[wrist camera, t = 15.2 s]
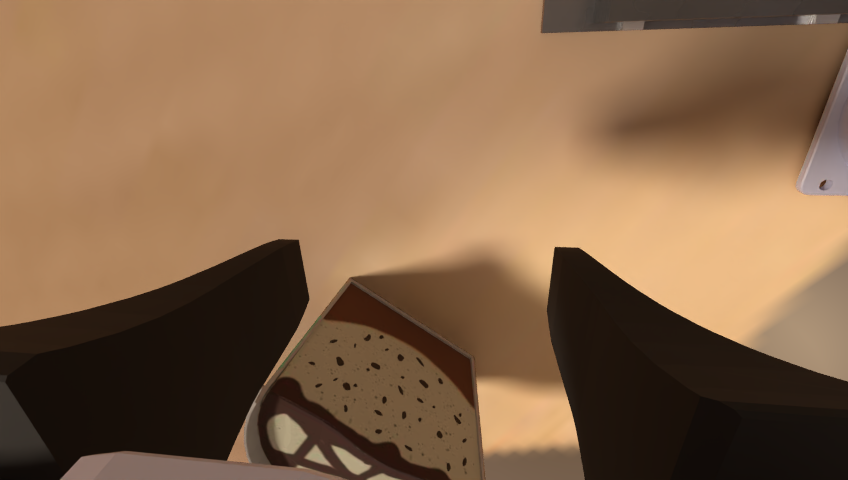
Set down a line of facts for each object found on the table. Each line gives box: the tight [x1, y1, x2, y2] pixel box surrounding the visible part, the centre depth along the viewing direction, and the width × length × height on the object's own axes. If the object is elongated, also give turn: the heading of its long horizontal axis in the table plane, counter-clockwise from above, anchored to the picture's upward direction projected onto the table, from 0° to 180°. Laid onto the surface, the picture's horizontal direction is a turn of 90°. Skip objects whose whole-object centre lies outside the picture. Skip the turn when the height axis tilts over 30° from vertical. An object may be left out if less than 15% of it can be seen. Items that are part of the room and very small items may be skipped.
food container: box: [244, 278, 485, 480], centre depth 22 cm, size 12×6×10 cm, turn 55°
